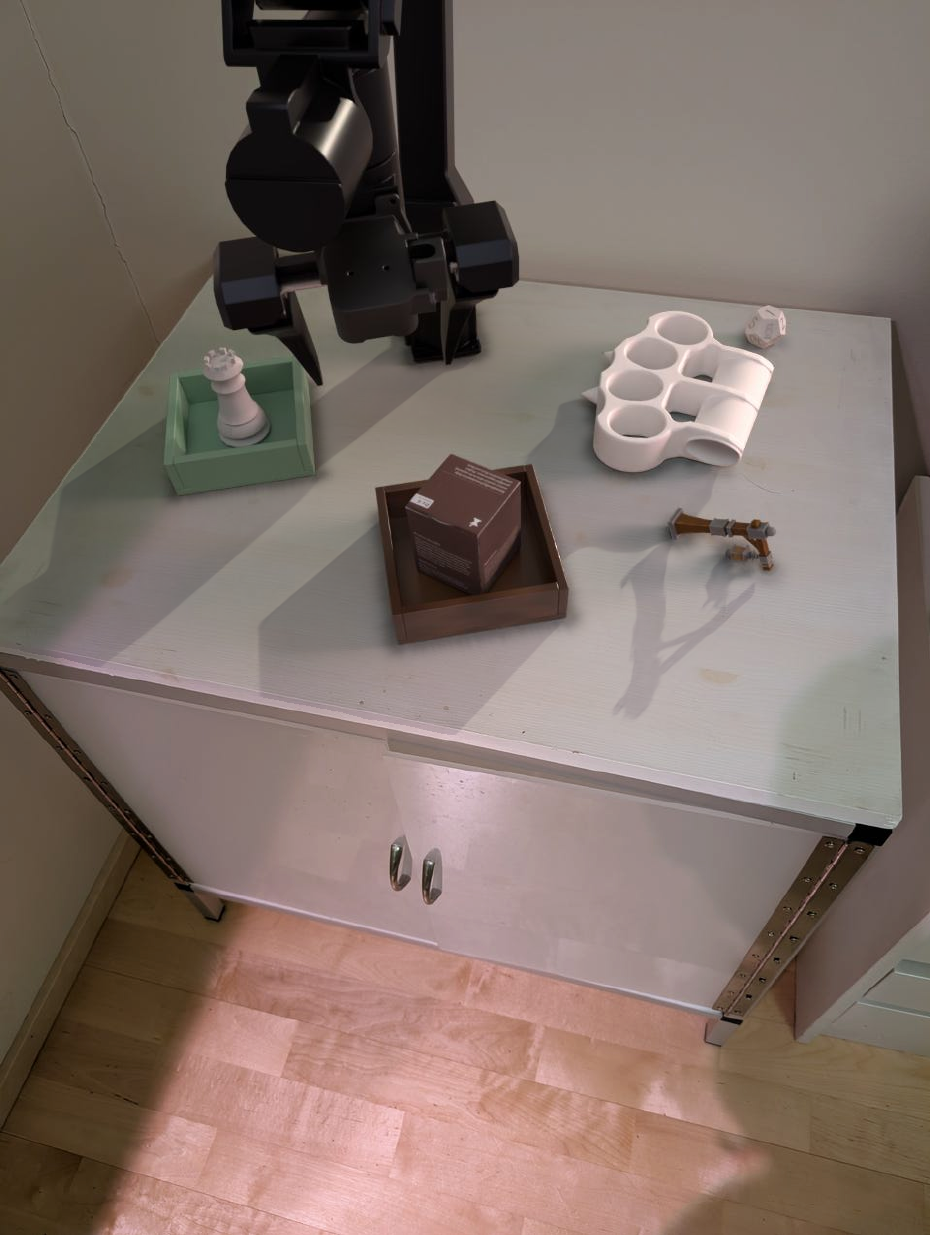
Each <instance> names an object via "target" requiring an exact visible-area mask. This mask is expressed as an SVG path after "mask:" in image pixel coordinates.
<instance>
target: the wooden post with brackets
mask: <svg viewBox="0 0 930 1235" xmlns="http://www.w3.org/2000/svg"><path fill="white" fill-rule="evenodd" d="M666 523H667V526H668V528H669V532H670V535H671V538H672V540H678V539H679V538H680V536H681V535H683V534H684V535H685V534H710V536H711V537H714V536H716V537H724V538H726V537H727V536H728V538H729V539H730V538H731V539H733V538H734V536H736V537H743V538H744V539H745V540H746V541H747V542H748V543H749V544H750V545H752V546H753V548H755V549H756V550H757V552H758V554H757V553H756V551H755V550H753V551H752V550H750V546H749V544H747V545H746V546H745V547H744V546H740V545H737V544H734V545H733V546H732V547H731V548H726V550H725V555H726V556H727V557H728V558H729V557H730V561H731V562H732V563H733V562H735V561H736V562H743V565H746V564H747V562H748V561H749V560H751V562H753V561H754V560H756V559H758V560H759V563H760V564H761V566H762V570H763V571H768V572H771V571H772V569H773V567H774V566H775V565H774V561H773V559H774V557H773V553H772V551H771V550H770V548H769V544H768V538H769V537H774V536H775V535H776V534H777V529H776V527H775V526H771V524H770V522H769V521H762V520H761V519H758V518H757V519H756V518H753V520H751V521H750V522H741V521H737V520H736V519H733V518H732V519H731V520H730V519H729V518H725V519H724V518H716V517H714V518H713V519H708V518H707V519H706V518H701V517H697V516H692V515H689V514H686V513H685V512H684V508H683V507H679V506H677V508H676V509H675V511H674V512H673V513H672V514H671V516H670V517H669V518H668V520H667V522H666Z"/></svg>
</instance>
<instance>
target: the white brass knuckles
mask: <svg viewBox="0 0 930 1235" xmlns="http://www.w3.org/2000/svg"><path fill="white" fill-rule="evenodd" d="M602 355H603V356H604V357H605V359H606V360H607V361H608V363H609V364H610V365H609V366H608V367H607V368H606V369H605V370H603V371H602V372H600V374H599V381H598V385H597V386H593V387H592V388H590V389H587V390H584V391H582V392H580V393H579V395H580V396H582V397H584V398H585V399H586V400H588V401H590V402H591V403H593V404H595V405H596V411H595V421H594V429H593V440H592V448H593V450H594V454H595V455H596V457H597V458H598V460H600V461H601V463H603V464H604V465H606V466H607V467H609V468H611V469H614V470H616V471H619V472H623V473H641V472H647V471H650V470H653V469H654V468H656V467H658V466H660V465H661V464H662V463H663V462H664V461H665V460H668V459H673V458H679V457H682V458H684V459H689V460H693V461H697V462H701V463H705V464H708V465H712V466H721V467H726V466H727V467H730V466H735V465H737V464H738V463H740V462H741V459H742V457H743V454H744V450H745V447H746V446H747V442H748V440H749V437H750V435H751V432H752V429H753V428H754V424H755V421H756V420H757V416H758V413H759V411H760V408H761V405H762V402H763V399H764V398H765V394H766V392H767V389H768V386H769V384H770V382H771V380H772V377H773V373H774V370H775V367H774V366H773V364H772V363H771V362H770V361H769V360H768V359H767V358H766V357H764V356H762V355H760V354H758V353H755V352H753V351H752V352H751V351H748V350H745V349H743V348H738V347H734V346H729V345H724V344H722V343H721V342H719V341H718V340H716V339H715V338H714V333H713V329H712V328H711V325H710V324H709V323H708V322H707V321H706V320H704V318H702V317H700V316H698V315H696V314H693V313H691V312H687V311H681V310H669V311H662V312H657V313H655V314H653V315H650V316H649V317H647V320H646V326H645V327H644V328H643V330H642V331H640V332H639V333H637V334H635V335H633V336H629V337H626V338H624V339H623V341H621V342H620V343H619V344H617V346H616V347H614V349H613V350H612V351H611V350H609V351H604V352H602ZM698 376H706V377H709V378H710V379H712V380H711V382H710V381H706V380H702V379H697V378H696V377H698ZM670 413H680V414H684V415H687V416H693V417H696V418H695V420H694V421H692V420H690V421H689V420H688V421H683V422H680V421H676V420H674V419H673V417H672V416H671V414H670ZM629 436H639V437H629Z"/></svg>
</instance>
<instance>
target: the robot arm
mask: <svg viewBox="0 0 930 1235" xmlns="http://www.w3.org/2000/svg"><path fill="white" fill-rule="evenodd" d="M255 6H256V7H257V8H258V9H259V10H260V11H302V12H303V11H306V13H305V14H304V15H303V17H302V18H301V19H282V18H281V19H280V18H279V19H274V18H273V19H269V18H268V19H267V18H266V19H265V18H262V19H261V18H258V19H257V18H256V19H255V18H254V12H255ZM220 7H221V8H220V9H221V33H222V34H221V35H222V37H221V38H222V56H223V62H224V64H225V66H226V67H227V68H255V69H256V72H257V76H258V77H257V78H258V81H259V87H256V88H255V89H254V90H253V91H252V92H251V93H250V95H249V97H248V98H247V100H246V102H245V113H246V117H247V120H248V123H246V126H245V127H244V129H243V130H242V132H241V134H240V136H239V138H237V141H236V143H235V144H234V145H233V147H232V148H231V150H230V152H229V155H228V159H227V161H226V164H225V181H224V189H225V192H226V197H227V199H228V201H229V203H230V206H231V208H232V210H233V212H234V213H235V214H236V216H237V218H238V219H239V220H240V222H241V223H242V224H243V225H244V226H245V227H246V228H247V229H248V230H249V231H250V232H251V233H252V235H254V236H249V237H242V238H237V239H236V238H235V239H230V240H222V241H219V242H218V243H217V245H216V247H215V249H214V251H213V253H212V273H213V274H212V278H213V279H212V282H213V284H212V285H213V287H212V288H213V295H214V300H215V304H216V307H217V310H218V313H219V316H220V319H221V322H222V325H223V327H224V328H227V329H228V330H230V331H233V332H234V331H235V332H236V331H242V330H247V331H248V332H249V333H250V335H253V336H261V335H263V336H264V335H265V336H271V337H274V338H276V339H278V340H279V341H280V342H281V343H282V344H283V346H284V347H286V348H287V349H288V350H289V351H290V353H291V354H292V356H295V357H296V359H297V360H298V361H299V363H300V364H301V365H302V367H303V368H304V371H305V373H307V374H308V375H309V377H310V378H311V380H312V381H313V382H314V384H315V385H316V386H317V387H321V386H324V380H323V379H324V378H323V373H322V369H321V365H320V361H319V360H320V359H319V355H318V353H317V350H316V347H315V344H314V341H313V339H312V336H311V333H310V330H309V328H308V327H309V326H308V325H307V321H306V319H305V316H304V313H303V310H302V308H301V305H300V304H301V303H300V302H299V299H298V296H297V293H296V292H298V291H305V290H310V289H318V288H324V287H327V292H328V299H329V303H330V307H331V312H332V316H333V319H334V324H335V328H336V332H337V335H338V337H339V339H340V340H342V341H343V342H344V343H347V344H350V345H355V344H362V343H365V342H366V341H369V340H375V339H382V338H387V337H396V338H401V337H403V338H404V345H405V346H407V347H410V352H411V357H412V361H413V362H414V363H425V362H431V361H439V360H443V361H444V364H445V366H451V365H452V363H453V360H454V358H460V357H466V356H467V357H468V356H474V355H479V354H481V353H482V346H481V345H482V344H481V341H480V337H479V333H478V319H477V304H479V303H481V302H483V301H486V300H491V299H494V298H495V297H497V295H498V294H499V291H500V290H502V289H508V288H509V289H510V288H513V287H514V286H516V284H518V282H519V281H520V255H519V254H520V253H519V246H518V241H517V239H516V236H515V234H514V231H513V229H512V226H511V222H510V220H509V218H508V215H507V213H506V209H505V208H504V207H503V206H502V205H500V203H498V201H497V200H495V199H493V200H487V201H482V202H475V200H474V198H473V196H472V194H471V192H470V191H469V188H468V187H467V185H466V183H465V181H464V179H463V178H462V176H461V174H460V172H459V171H458V169H457V166H456V156H455V155H456V153H455V152H456V151H455V148H456V147H455V146H456V145H455V144H456V142H455V140H456V139H455V138H456V136H455V75H454V74H455V67H454V64H455V63H454V62H455V61H454V0H220ZM391 38H392V42H393V43H392V45H393V66H394V68H393V69H394V86H395V88H394V89H395V105H396V106H395V108H396V122H395V113H394V104H393V96H392V87H391V80H390V70H389V63H388V56H389V54H390V50H391V49H390V48H391ZM396 124H397V125H396ZM396 126H397V130H396ZM279 250H283V251H287V252H290V253H297V254H288V255H284V256H280V253H279Z"/></svg>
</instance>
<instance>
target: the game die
mask: <svg viewBox="0 0 930 1235" xmlns="http://www.w3.org/2000/svg"><path fill="white" fill-rule="evenodd" d="M745 321H746V322H745V336H746V338H747V340H748V342H749V343H750V344H752V345H754V346H756V347H758V348H760V349H765V348H767V347H770V346H772V345H775V344H776V343H777V342H778V341H779V340H781V339H782V338H783V337H785V336H786V329H787V328H786V327H787V319H786V317H785V315H784V312H783V310H782V309H779V308H777V307H774V306H772V305H770V304H768V305H765V306H763V307H761V308H759V309H756V310H755V311H754V312H753V313H752V314H750V315H749V316H748V317H747V318H746V319H745Z"/></svg>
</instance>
